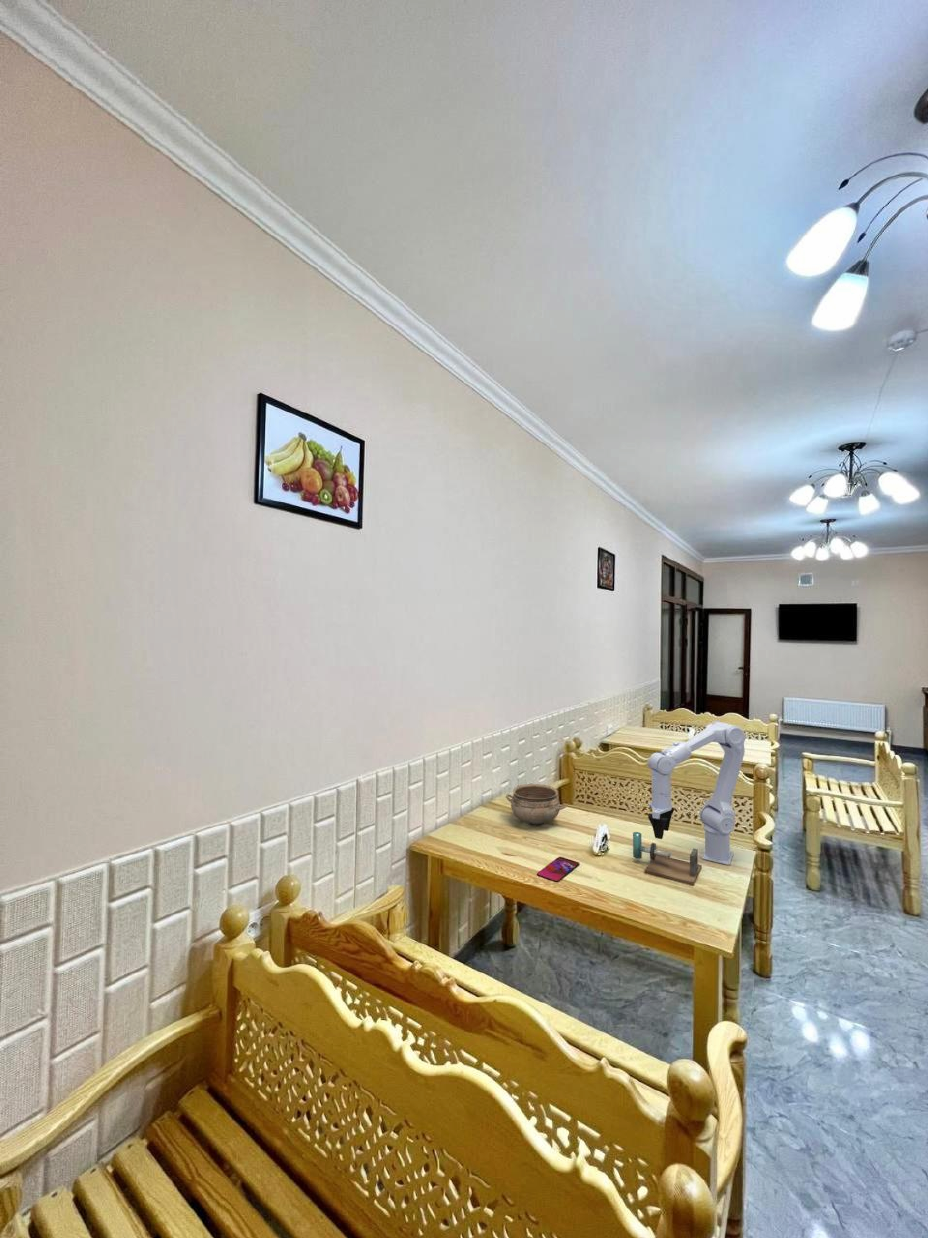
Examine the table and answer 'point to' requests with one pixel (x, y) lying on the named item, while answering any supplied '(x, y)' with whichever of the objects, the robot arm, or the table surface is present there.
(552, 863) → the smartphone
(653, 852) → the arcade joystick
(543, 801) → the cooking pot
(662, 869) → the eye stand
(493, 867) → the table surface
